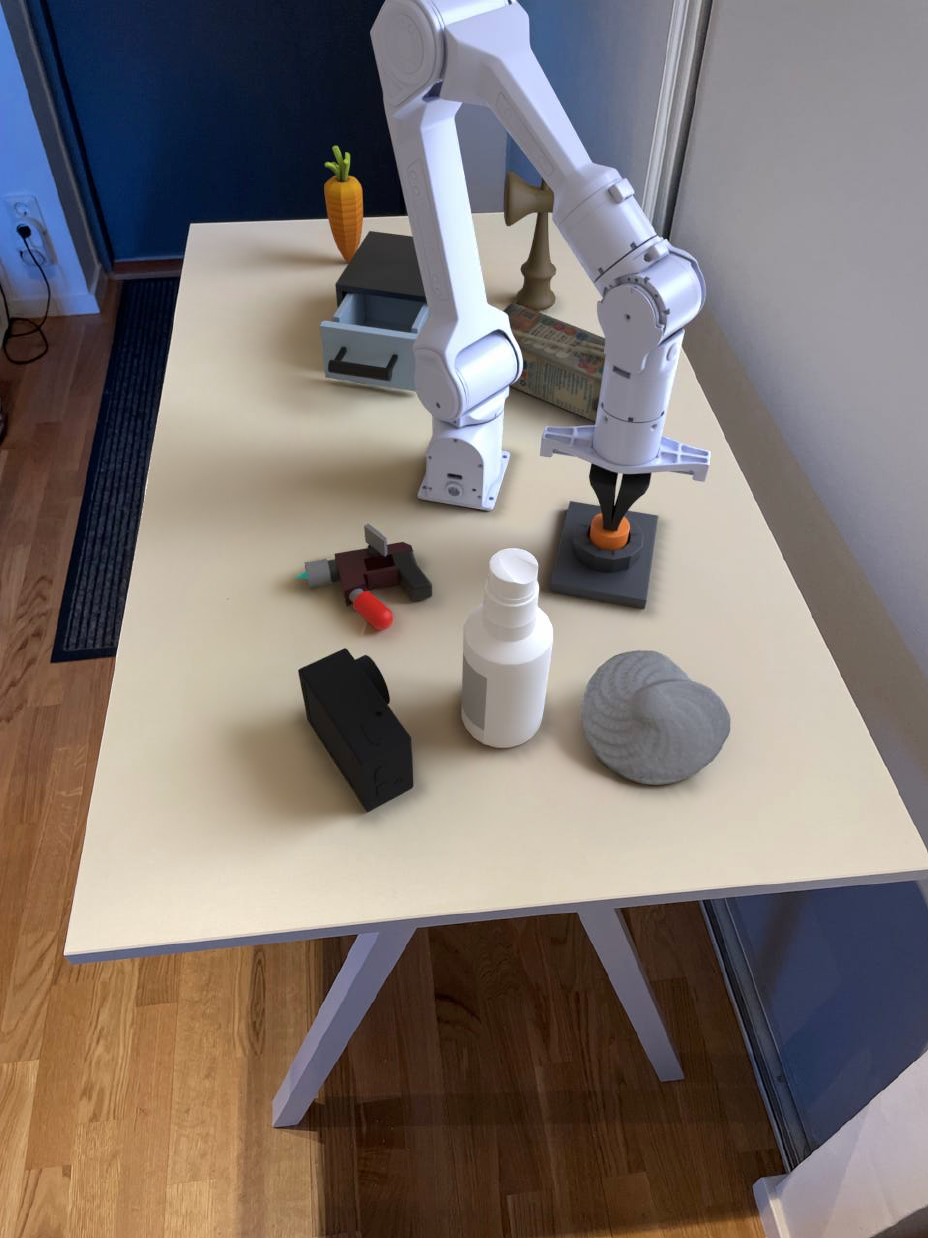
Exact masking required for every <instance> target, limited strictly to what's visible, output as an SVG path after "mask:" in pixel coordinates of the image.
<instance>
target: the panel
mask: <svg viewBox="0 0 928 1238" xmlns="http://www.w3.org/2000/svg"><path fill="white" fill-rule="evenodd" d="M600 513H602V512H601V507H600V505H599V504H597V505H596V504H591V503H585V502H581V501H580V502H579V501H574V500H573V501H572V500H570V501H569V503H568V509H567V511H566V516H565V520H564V524H563V529H562V532H561V537H560V541H559V545H558V550H557V553H556V557H555V562H554V565H553V570H552V574H551V580H550V582H549V583H550V584H549V593H554V594H557V595H558V594H559V595H565V596H569V597H576V598H580V599H587V600H592V601H598V602H604V603H609V604H615V605H620V606H626V607H631V608H638V609H642V610H645V609H646V606H647V601H648V593H649V587H650V580H651V573H652V565H653V558H654V552H655V551H654V550H655V543H656V536H657V530H658V529H657V528H658V523H659V515H657V514H651V513H645V512H639V511H634V510H628V511H627V513H626V514H625V516H624V517H625V518H626V519H627V520H628V522H629V524H630V529H629V534H628V539H627V543H626V544H625V545H624V546H623V547H622V548H620V549H617V550H606V549H600V548H599V547H597V546H595V545H594V544H593V543H592V542H591V540H590V530H591V524H592V520H593V518H594V517H595V516H596V515H598V514H600Z"/></svg>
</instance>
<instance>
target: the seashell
mask: <svg viewBox="0 0 928 1238" xmlns="http://www.w3.org/2000/svg"><path fill="white" fill-rule="evenodd" d="M580 715H581V725H582V731H583V734H584V738H585V739H586V741H587V743H588V744H589V746H590V747H591V749H592V750H593V753H594V755H595V757H596V759H597V760H598V761H599V762H600V764H602V765H603V766H604V767H606V768H607V769H609V770H610V771H612V772H614V774H617V776H620V777H622V778H624V779H627V780H629V781H631V782H635V783H637V784H642V785H653V786H654V785H656V786H663V785H669V784H674V783H677V782H680V781H682V780H685V779H688V778H691V777H692V776H694V775H696V774H698V773H699V772H701V771H702V770H703V769H704V768H706V767H707V766H708V765H709V764H711V763H712V762H713V761H714V760H715V759H716V758H717V756H718V755H719V754H720V752H721V751H722V750H723V747H724V744H725V743H726V741H727V739H728V738H729V735H730V733H731V724H732V723H731V722H732V721H731V714H730V712H729V710H728V708H727V705H726V704H725V702H724V701H723V699H722V698H721V696H719V695H718V694H717V693H716V691H715V690H713V689H712V688H710V687H709V686H707V685H705V684H703V683H701V682H698V681H695V680H692V679H691V678H690V676H688V673H687V672H685V671H684V670H683V669H682V668H681V667H680V666H679V665H677V664H676V663H675V662H674V661H673V660H672V659H670V657H669V656H667V655H665V654H663V653H661V652H659V651H656V650H640V649H638V650H637V649H636V650H631V651H625V652H621V653H618V654H615V655H613V656H612V657H610V658H608V659H607V660H606V661H605V662H604V663H603V664H601V665H600V666H599V667H597V669H596V670H595V672H594V673H593V675H592V676H591V677H590V679H589V680H588V682H587V684H586V686H585V691H584V693H583V697H582V700H581V705H580Z"/></svg>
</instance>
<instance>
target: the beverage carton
mask: <svg viewBox="0 0 928 1238" xmlns="http://www.w3.org/2000/svg"><path fill="white" fill-rule="evenodd" d="M502 311H503V312H505V313H506V314H507V315H508V318H509V324H510V329H511V332H512V334H513V336H514V338H515V340H516V342H517V344H518V346H519V348H520V351H521V354H522V359H523V369H522V373H521V375H520V377H519V378H518V380H517V381H516V382H514V383H513V384H511V385H509V387H512V388H514V389H517V390H519V391H521V392H524V393H526V394H529V395H531V396H533V397H536V398H538V399H540V400H542V401H545V402H546V403H550V404H552V405H554V406H557V407H559V408H561V409H564V410H566V411H568V412H570V413H573V414H575V415H577V416H581V417H583V418H585V419H587V420H590V421H593V422H595V423H596V417H597V410H598V403H599V397H600V390H601V384H602V377H603V370H604V364H605V357H606V354H604V348H605V337H603V336H601V335H598V334H596V333H593V332H590V331H589V330H587V329H586V330H585V329H584V328H581V327H578V326H575V325H573V324H570V323H568V322H565V321H562V320H560V319H557V318H555V317H553V316H549V315H547V314H545V313H542V312H539V311H538V310H532V309H529V308H526V307H524V306H521V305H520V304H517V303H515V302H511V303H510V304H508V306H506V307H505V308H504V309H503V310H502Z"/></svg>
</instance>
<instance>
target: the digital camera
mask: <svg viewBox="0 0 928 1238" xmlns="http://www.w3.org/2000/svg"><path fill="white" fill-rule="evenodd" d="M297 672H298V678H299V684H300V689H301V693H302V699H303V704H304V709H305V715H306V720H307V722H308V723H309V725H310V727H311V728H312V729H313V731H314V733H315V735H316V736H317V737H318V739H319V740H320V742H321V743H322V745H323V747H324V748H325V750H326V751H327V753H328V754H329V756H330V758H331V759H332V760H333V763H334V764H335V765H336V766H337V768H338V770H339V771H340V773H341V775H342V776H343V778H344V780H345V781H346V783H347V784H348V786H349V787H350V789H351V790H352V792H353V793H354V795H355V797H356V798H357V799H358V801H359V802H360V804H361V806H362V807H363V809H364V811H365V812H366V813H369V812H371V811H373V810H375V809H377V808H379V807H381V806H383V805H384V804H386V803H387V802H390V801H392V800H394V799H395V798H397V797H399V796H401V795H403V794H404V793H406V792H408V791H409V790H412V789H413V788H414V786H415V785H414V763H413V760H414V759H413V742H412V736H411V735H410V734H409V732H408V731H407V730H406V728H405V727H404V725H403V723H401V721H400V720H399V718H398V717H397V715H396V714H395V713H394V711H393V710H392V709H391V707H390V706H389V704H390V702H391V696H390V692H389V689H388V685H387V683H386V680H385V678H384V676H383V674H382V671H381V670H380V668H379V667H378V665H377V664H376V662H375V661H374V660H373V659H372V657H370V656H369V655H367V654H364V655H362V656H360V657H357V658H354V656H353V655H352V653H351V652H350V651H349V649H348V648H347V647H344V648H342V649H339V650H337V651H335V652H333V653H331V654H329V655H326V656H324V657H322V658H320V659H318V660H316V661H313V662H311V663H309V664H307V665H305V666H303V667H300V668H299V669H298V670H297Z"/></svg>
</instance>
